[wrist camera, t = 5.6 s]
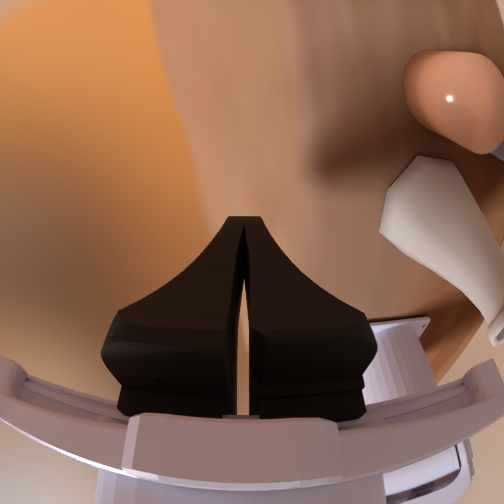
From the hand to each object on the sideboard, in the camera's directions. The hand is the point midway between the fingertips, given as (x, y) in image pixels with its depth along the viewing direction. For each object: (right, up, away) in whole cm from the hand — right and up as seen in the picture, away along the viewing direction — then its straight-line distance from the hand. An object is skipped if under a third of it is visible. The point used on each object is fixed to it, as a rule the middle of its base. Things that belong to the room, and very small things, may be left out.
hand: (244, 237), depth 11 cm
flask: (+12, +2, +4) cm, 12 cm away
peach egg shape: (+11, +8, -1) cm, 14 cm away
